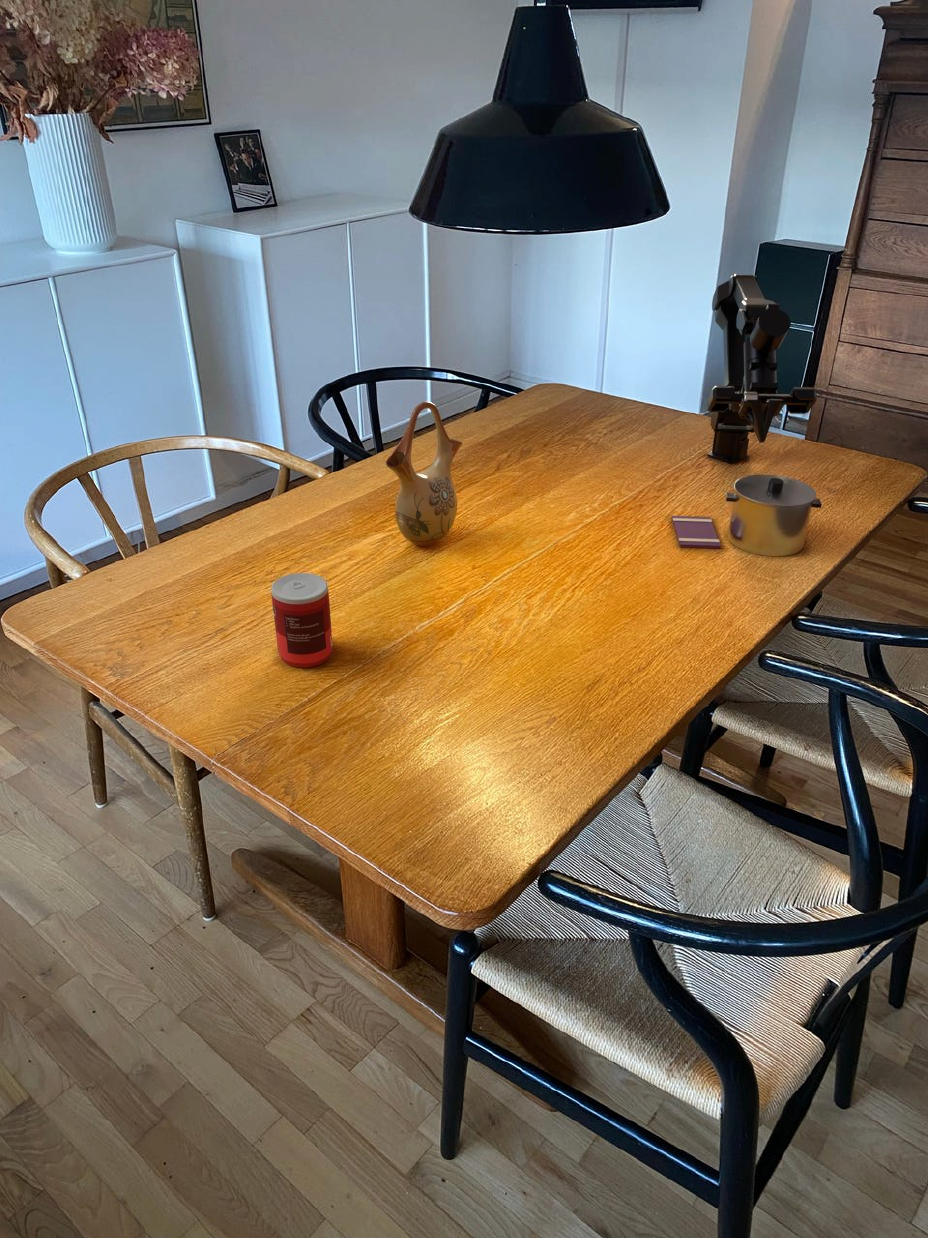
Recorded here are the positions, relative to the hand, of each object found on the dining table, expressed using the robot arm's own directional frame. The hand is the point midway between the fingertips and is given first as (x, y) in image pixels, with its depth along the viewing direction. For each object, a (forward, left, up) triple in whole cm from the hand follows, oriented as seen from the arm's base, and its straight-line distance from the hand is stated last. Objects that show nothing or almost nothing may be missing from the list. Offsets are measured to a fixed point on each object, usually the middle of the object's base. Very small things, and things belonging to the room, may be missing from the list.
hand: (762, 441), depth 171 cm
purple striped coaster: (+1, -19, -13) cm, 22 cm away
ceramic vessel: (-28, -57, -13) cm, 65 cm away
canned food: (-11, -93, -13) cm, 95 cm away
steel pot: (+11, -11, -13) cm, 20 cm away
